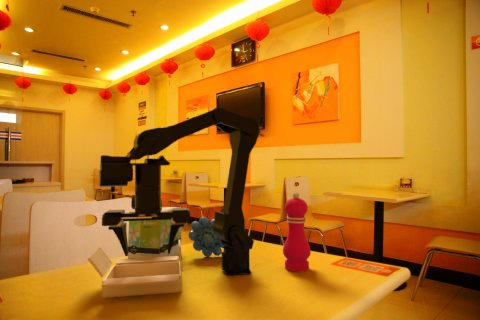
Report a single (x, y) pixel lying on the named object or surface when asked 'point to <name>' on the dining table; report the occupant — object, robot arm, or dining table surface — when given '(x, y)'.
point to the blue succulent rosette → (205, 237)
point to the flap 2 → (180, 255)
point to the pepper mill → (296, 236)
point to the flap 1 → (100, 261)
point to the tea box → (152, 237)
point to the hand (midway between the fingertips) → (148, 254)
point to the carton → (143, 277)
